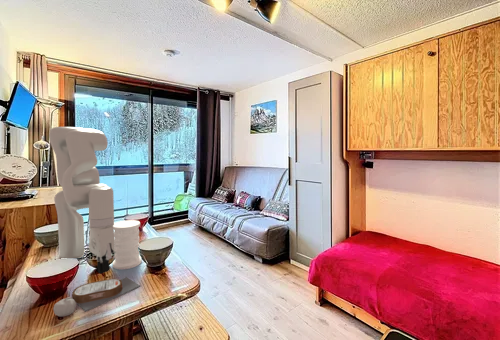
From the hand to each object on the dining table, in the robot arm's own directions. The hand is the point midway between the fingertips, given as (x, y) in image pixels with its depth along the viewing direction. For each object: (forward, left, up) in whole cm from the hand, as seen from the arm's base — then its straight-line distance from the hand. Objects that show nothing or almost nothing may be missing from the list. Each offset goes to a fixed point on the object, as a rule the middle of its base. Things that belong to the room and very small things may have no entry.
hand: (103, 271), depth 88 cm
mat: (+3, 0, -7) cm, 8 cm away
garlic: (+5, -13, -7) cm, 15 cm away
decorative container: (-14, +16, -7) cm, 22 cm away
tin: (-2, -1, -5) cm, 5 cm away
